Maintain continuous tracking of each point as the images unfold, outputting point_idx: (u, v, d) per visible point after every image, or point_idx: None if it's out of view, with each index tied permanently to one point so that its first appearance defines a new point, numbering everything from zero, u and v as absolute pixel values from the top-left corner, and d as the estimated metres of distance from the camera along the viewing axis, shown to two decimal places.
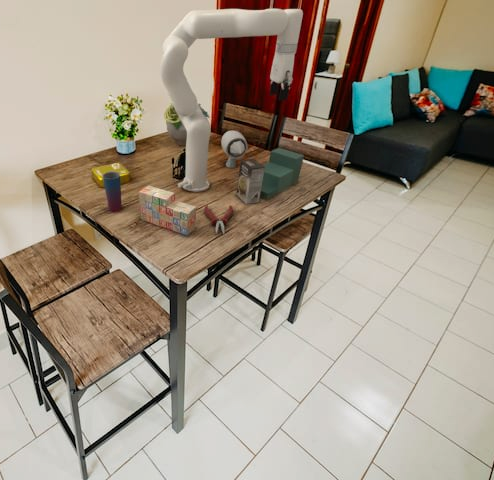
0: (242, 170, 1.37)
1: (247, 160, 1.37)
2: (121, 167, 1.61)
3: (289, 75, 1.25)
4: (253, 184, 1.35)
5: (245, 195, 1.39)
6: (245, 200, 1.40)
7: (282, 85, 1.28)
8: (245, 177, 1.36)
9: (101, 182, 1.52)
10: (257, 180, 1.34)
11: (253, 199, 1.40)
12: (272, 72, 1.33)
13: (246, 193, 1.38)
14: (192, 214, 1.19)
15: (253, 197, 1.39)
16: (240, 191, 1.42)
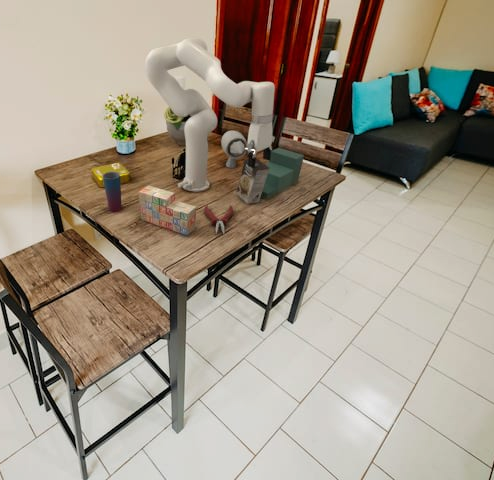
0: (246, 169, 1.35)
1: None
2: (121, 167, 1.61)
3: (248, 145, 1.25)
4: (256, 184, 1.34)
5: (247, 194, 1.38)
6: (246, 200, 1.39)
7: None
8: (249, 177, 1.35)
9: (101, 182, 1.52)
10: (260, 180, 1.34)
11: (254, 199, 1.39)
12: None
13: (248, 193, 1.37)
14: (192, 214, 1.19)
15: (254, 197, 1.39)
16: (241, 190, 1.41)
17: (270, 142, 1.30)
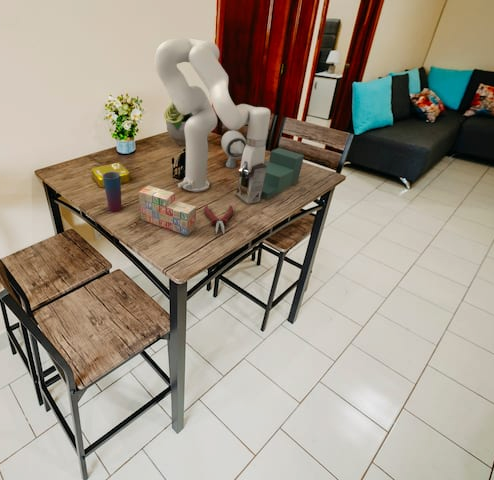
0: None
1: None
2: (121, 167, 1.61)
3: (242, 167, 1.31)
4: (255, 183, 1.35)
5: (247, 194, 1.38)
6: (246, 200, 1.40)
7: None
8: None
9: (101, 182, 1.52)
10: (259, 179, 1.35)
11: (254, 199, 1.40)
12: None
13: (248, 193, 1.38)
14: (192, 214, 1.19)
15: (254, 196, 1.39)
16: (240, 191, 1.42)
17: None
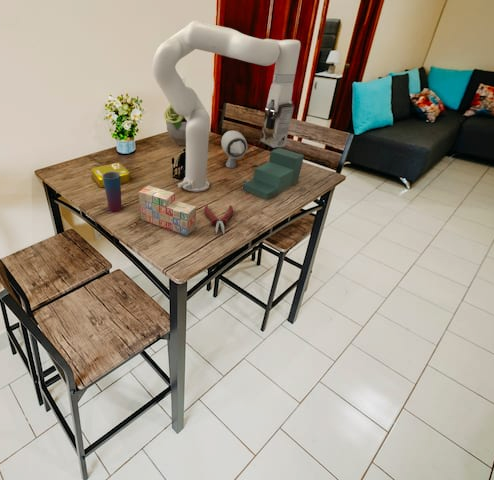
0: None
1: None
2: (121, 167, 1.61)
3: (269, 105, 1.26)
4: (282, 124, 1.30)
5: (272, 137, 1.33)
6: (272, 143, 1.34)
7: None
8: None
9: (101, 182, 1.52)
10: (285, 120, 1.29)
11: (280, 143, 1.34)
12: None
13: (273, 135, 1.32)
14: (192, 214, 1.19)
15: (280, 140, 1.34)
16: (265, 135, 1.37)
17: None
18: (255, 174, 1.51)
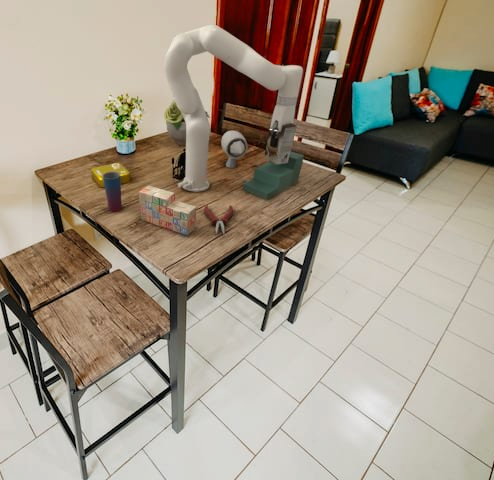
0: None
1: None
2: (121, 167, 1.61)
3: (273, 126, 1.34)
4: (285, 143, 1.38)
5: (276, 155, 1.41)
6: (275, 161, 1.42)
7: None
8: None
9: (101, 182, 1.52)
10: (288, 139, 1.37)
11: (283, 160, 1.42)
12: None
13: (277, 153, 1.40)
14: (192, 214, 1.19)
15: (283, 157, 1.41)
16: (269, 153, 1.44)
17: None
18: (255, 174, 1.51)
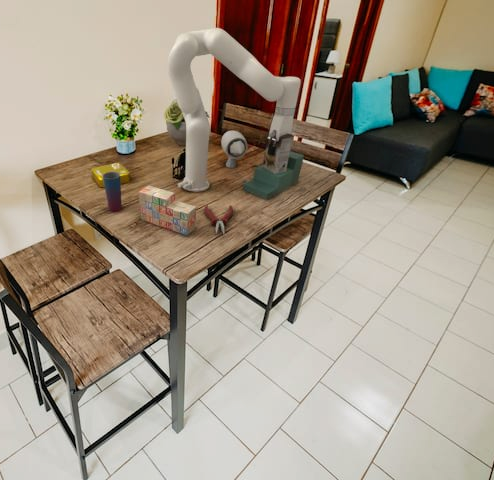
0: None
1: None
2: (121, 167, 1.61)
3: (271, 134, 1.36)
4: (282, 153, 1.40)
5: (274, 165, 1.43)
6: (273, 170, 1.45)
7: None
8: None
9: (101, 182, 1.52)
10: (285, 149, 1.40)
11: (281, 169, 1.45)
12: None
13: (275, 163, 1.43)
14: (192, 214, 1.19)
15: (281, 167, 1.44)
16: (267, 162, 1.47)
17: (289, 133, 1.41)
18: (255, 174, 1.51)
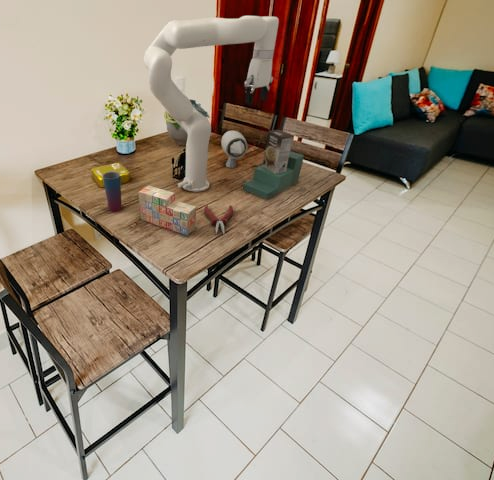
0: (270, 140, 1.41)
1: (274, 131, 1.41)
2: (121, 167, 1.61)
3: (248, 79, 1.30)
4: (282, 153, 1.40)
5: (274, 165, 1.43)
6: (273, 170, 1.45)
7: None
8: (274, 147, 1.40)
9: (101, 182, 1.52)
10: (285, 149, 1.40)
11: (281, 169, 1.45)
12: None
13: (275, 163, 1.43)
14: (192, 214, 1.19)
15: (281, 167, 1.44)
16: (267, 162, 1.47)
17: (268, 80, 1.35)
18: (255, 174, 1.51)
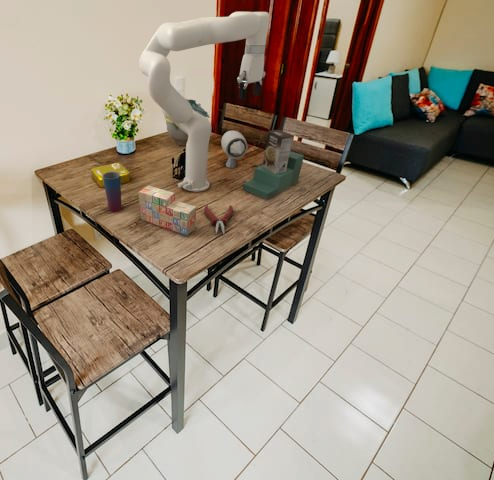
0: (270, 140, 1.41)
1: (274, 131, 1.41)
2: (121, 167, 1.61)
3: (241, 75, 1.31)
4: (282, 153, 1.40)
5: (274, 165, 1.43)
6: (273, 170, 1.45)
7: None
8: (274, 147, 1.40)
9: (101, 182, 1.52)
10: (285, 149, 1.40)
11: (281, 169, 1.45)
12: None
13: (275, 163, 1.43)
14: (192, 214, 1.19)
15: (281, 167, 1.44)
16: (267, 162, 1.47)
17: (261, 75, 1.36)
18: (255, 174, 1.51)
